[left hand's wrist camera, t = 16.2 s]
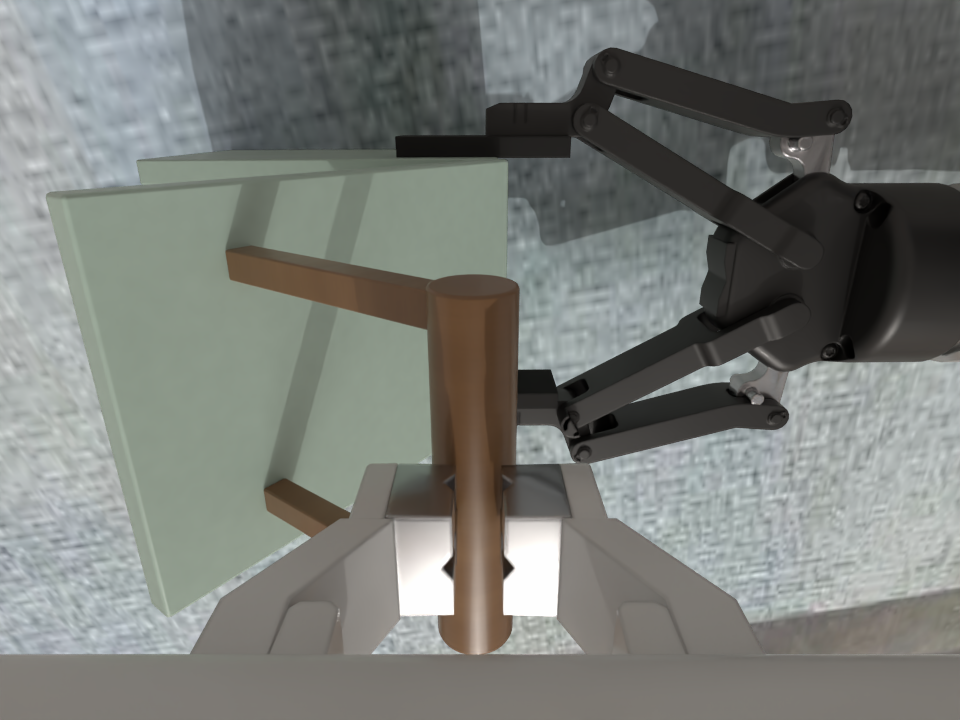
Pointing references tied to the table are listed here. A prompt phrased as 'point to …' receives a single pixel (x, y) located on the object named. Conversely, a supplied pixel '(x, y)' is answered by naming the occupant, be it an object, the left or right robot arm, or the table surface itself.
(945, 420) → the table surface
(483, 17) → the table surface
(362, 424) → the lid
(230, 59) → the table surface
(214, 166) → the chest
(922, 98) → the table surface
